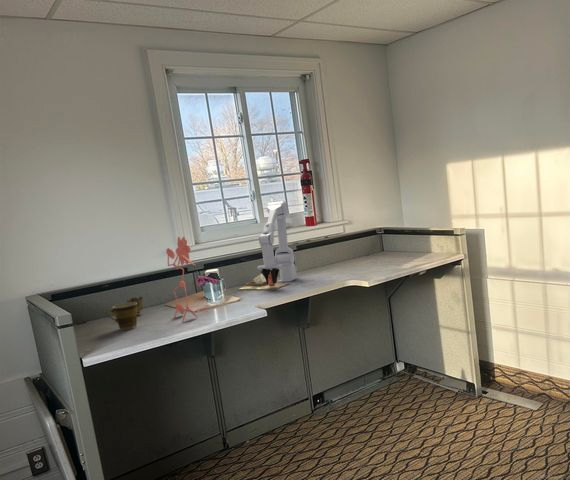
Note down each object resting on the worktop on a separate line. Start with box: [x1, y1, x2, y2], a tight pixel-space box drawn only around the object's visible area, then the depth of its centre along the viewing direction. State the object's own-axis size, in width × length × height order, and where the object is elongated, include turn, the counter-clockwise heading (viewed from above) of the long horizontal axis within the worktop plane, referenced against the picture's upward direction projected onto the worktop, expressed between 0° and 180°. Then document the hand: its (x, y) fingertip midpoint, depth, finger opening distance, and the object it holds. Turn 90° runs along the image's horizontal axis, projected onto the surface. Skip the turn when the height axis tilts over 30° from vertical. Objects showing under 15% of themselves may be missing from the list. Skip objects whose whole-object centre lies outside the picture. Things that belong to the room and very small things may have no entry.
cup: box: [126, 296, 144, 317], centre depth 237 cm, size 8×7×8 cm
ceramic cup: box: [105, 302, 138, 332], centre depth 211 cm, size 13×10×10 cm
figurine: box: [165, 236, 210, 321], centre depth 220 cm, size 15×26×35 cm, turn 36°
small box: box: [204, 268, 220, 277], centre depth 265 cm, size 8×6×13 cm
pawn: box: [268, 272, 276, 287], centre depth 261 cm, size 3×3×6 cm
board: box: [238, 280, 290, 291], centre depth 270 cm, size 14×23×2 cm, turn 56°
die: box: [253, 273, 266, 284], centre depth 274 cm, size 5×5×5 cm
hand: (271, 283), depth 262 cm, fingers closed on pawn, 3 cm apart
